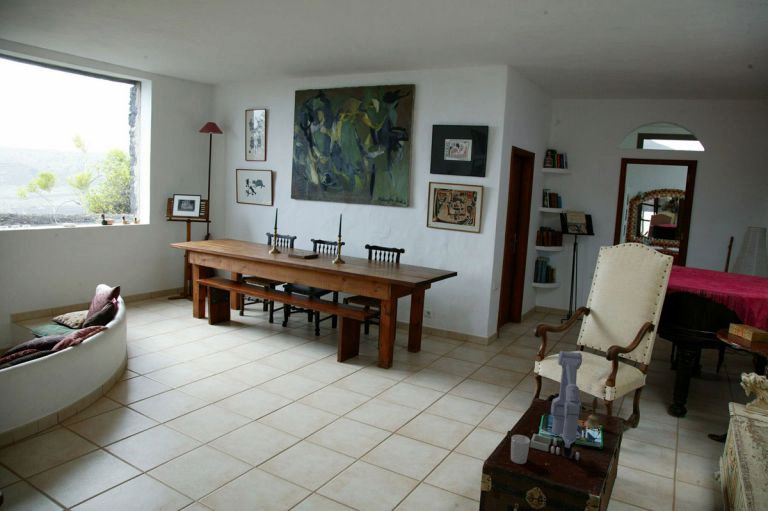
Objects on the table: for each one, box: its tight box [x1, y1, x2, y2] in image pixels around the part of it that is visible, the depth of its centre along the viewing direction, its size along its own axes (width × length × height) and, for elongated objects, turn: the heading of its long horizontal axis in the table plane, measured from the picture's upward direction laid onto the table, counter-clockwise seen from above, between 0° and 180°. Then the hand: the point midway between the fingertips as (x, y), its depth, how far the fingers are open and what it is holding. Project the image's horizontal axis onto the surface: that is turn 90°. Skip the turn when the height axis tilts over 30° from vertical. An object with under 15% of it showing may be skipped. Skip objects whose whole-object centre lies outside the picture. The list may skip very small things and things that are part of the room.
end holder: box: [529, 433, 552, 452], centre depth 247 cm, size 8×8×3 cm
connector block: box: [562, 447, 574, 459], centre depth 239 cm, size 4×4×4 cm
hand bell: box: [583, 397, 601, 430], centre depth 269 cm, size 8×8×16 cm
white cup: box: [510, 434, 531, 465], centre depth 232 cm, size 8×8×10 cm
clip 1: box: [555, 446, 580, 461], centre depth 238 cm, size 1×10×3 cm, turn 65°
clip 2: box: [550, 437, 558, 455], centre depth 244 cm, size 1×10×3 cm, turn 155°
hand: (567, 455), depth 236 cm, fingers closed
